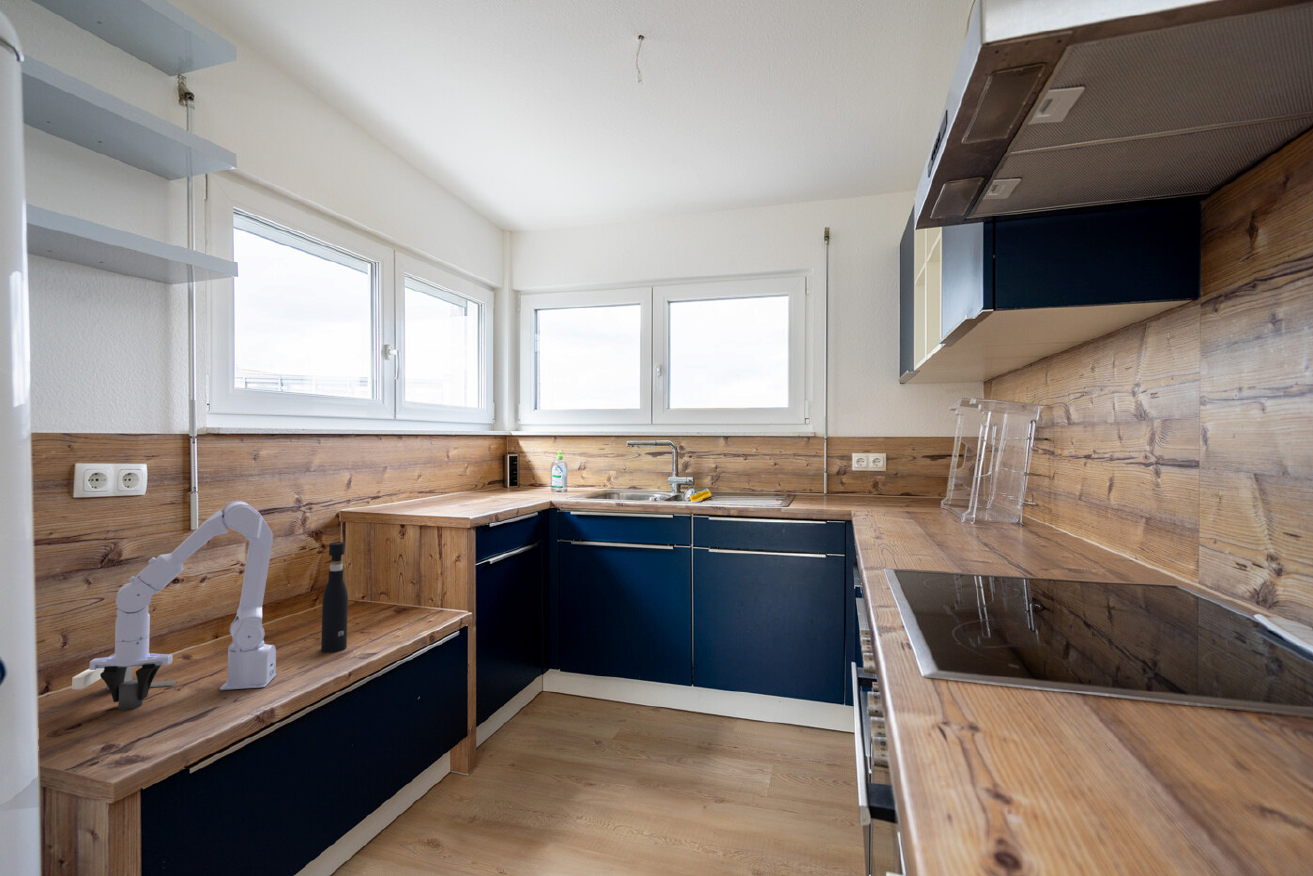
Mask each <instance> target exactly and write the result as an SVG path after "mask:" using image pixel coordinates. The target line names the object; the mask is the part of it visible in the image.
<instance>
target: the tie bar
mask: <svg viewBox="0 0 1313 876" xmlns="http://www.w3.org/2000/svg"><path fill="white" fill-rule="evenodd" d="M112 656H115V652H114V653H111V654H110V655H109V656H107V657H112ZM133 668H134V667H127V669H126V673H125V678H124V682H126V681H130V680H133ZM103 671H104V668H101V669H96V670H89V668H88V669H85V670H84V671H81V672H79V674H76V675H75V676H73V677H72V678H71V679H72V680H71V690H83V689H84V690H85V688H87V687H88V686H90V685H92V684H94V683H95V682H97V681H99V680H100V679H102V678H101V676H100V674H101V673H102V672H103ZM105 689H106V690H110V689H109V687H108V686H107V685H106V688H105Z"/></svg>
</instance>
